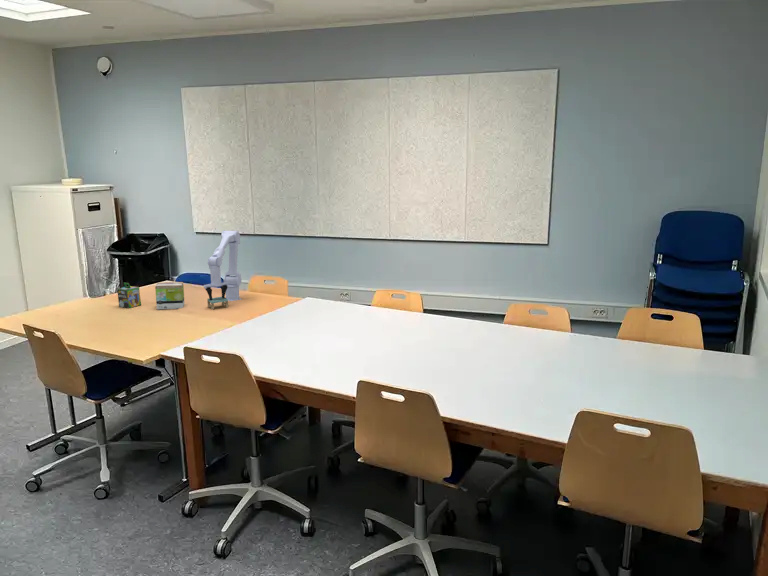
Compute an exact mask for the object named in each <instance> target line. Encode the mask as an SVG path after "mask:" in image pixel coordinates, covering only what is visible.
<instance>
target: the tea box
mask: <svg viewBox="0 0 768 576" xmlns="http://www.w3.org/2000/svg"><path fill="white" fill-rule="evenodd" d="M154 288H155V301H156V302H155V305H156V310H172V309H173V310H174V309H176V310H178V309H183V308H184V306H185V291H184V290H185V289H184V288H185V287H184V282H183V281H175V282H174V281H173V282H172V281H171V282H170V281H169V282H157V283H156V284H155V286H154Z"/></svg>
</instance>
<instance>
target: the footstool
mask: <svg viewBox="0 0 768 576" xmlns="http://www.w3.org/2000/svg"><path fill="white" fill-rule="evenodd" d="M206 299H207V308H210V309H211V310H212V311H213V310H215V304H218V303H221V305H222V306H224V307H225V308H229V300H228V299H227V298H226V296H225V297H224V298H222V296H217V297H212V300H210V298H206Z"/></svg>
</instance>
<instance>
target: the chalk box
mask: <svg viewBox="0 0 768 576" xmlns="http://www.w3.org/2000/svg"><path fill="white" fill-rule="evenodd" d="M123 285H124V286H123V287H120V288H119V287H118V288H117V289H116V290H117V299H118V301H117V302H118V307H119V308H124V309H133V308H135V307H138V306H141V305H142V301H141V295H140V294H141V292H140V287H139V286H131V285H130V283H129V282H123ZM127 285H128V286H127Z"/></svg>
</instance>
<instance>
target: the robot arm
mask: <svg viewBox="0 0 768 576" xmlns="http://www.w3.org/2000/svg"><path fill="white" fill-rule="evenodd" d="M220 235H221V240H220V243H219V245H218V247H215V250H214V251H213V253H212V255H211V256H210V257H208V259H207V264H208V268H209V271H210V273H209V274H210V283H208V284H203V288H204V289H205V291H206V293H207V295H208V297H209V298H210V300H212V298H213V289H212V288H218V287H220V290H221V297H222V298H224V297H225V298H227V299H228V302H233V301H239V300H242V298H241V297H240V286H241V285H242V274H241V273H240V272H239V271H238V250H239V249H238V247H239V244H240V243H241V234H240V232H239V231H238V230H222V231H221V234H220ZM227 247H229V251H228V252H229V253H228V270H227V271H226V272H225V273H224V277H223V282H222V277H221V266H222V264H223V257H224V255H225V254H226V250H225V249H226V248H227ZM209 298H208V299H209Z"/></svg>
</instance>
